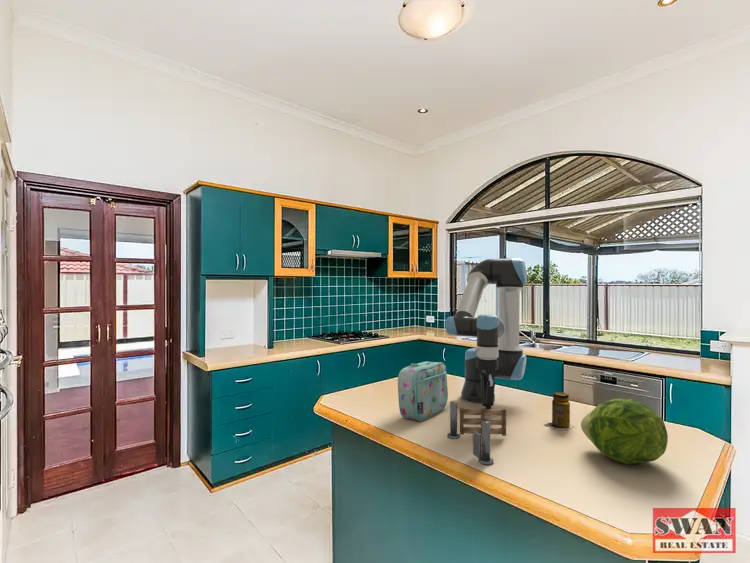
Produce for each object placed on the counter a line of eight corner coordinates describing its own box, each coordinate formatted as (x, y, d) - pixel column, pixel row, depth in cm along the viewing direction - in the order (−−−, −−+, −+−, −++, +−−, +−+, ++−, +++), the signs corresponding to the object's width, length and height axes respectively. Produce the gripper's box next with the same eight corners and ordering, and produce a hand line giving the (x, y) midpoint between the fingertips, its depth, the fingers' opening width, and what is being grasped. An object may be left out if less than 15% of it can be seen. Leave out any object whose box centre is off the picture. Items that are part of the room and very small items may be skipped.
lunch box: (417, 426, 147) (417, 369, 147) (395, 420, 154) (395, 365, 154) (450, 408, 169) (450, 358, 169) (429, 403, 175) (429, 355, 175)
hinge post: (456, 433, 140) (456, 400, 140) (462, 438, 136) (462, 403, 136) (445, 435, 139) (445, 401, 139) (450, 440, 135) (450, 404, 135)
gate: (460, 434, 137) (460, 408, 137) (459, 433, 138) (459, 407, 138) (506, 435, 136) (506, 409, 136) (505, 434, 137) (505, 408, 137)
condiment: (574, 426, 147) (574, 394, 147) (561, 431, 143) (561, 398, 143) (556, 421, 153) (556, 390, 153) (543, 425, 149) (543, 393, 149)
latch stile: (485, 455, 122) (485, 416, 122) (496, 464, 117) (496, 423, 117) (472, 457, 121) (472, 418, 121) (483, 466, 115) (483, 425, 115)
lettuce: (599, 441, 135) (587, 389, 136) (681, 455, 117) (668, 395, 117) (572, 465, 124) (560, 407, 124) (659, 485, 105) (644, 417, 105)
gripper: (473, 354, 149) (473, 417, 149) (480, 361, 136) (480, 429, 136) (493, 354, 149) (493, 417, 149) (502, 361, 136) (502, 430, 136)
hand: (487, 423), depth 142 cm, fingers closed
